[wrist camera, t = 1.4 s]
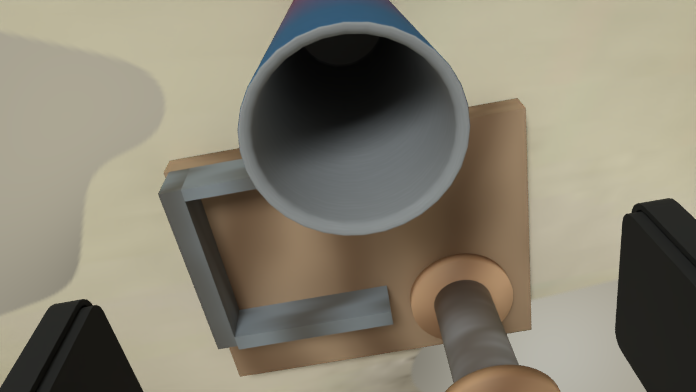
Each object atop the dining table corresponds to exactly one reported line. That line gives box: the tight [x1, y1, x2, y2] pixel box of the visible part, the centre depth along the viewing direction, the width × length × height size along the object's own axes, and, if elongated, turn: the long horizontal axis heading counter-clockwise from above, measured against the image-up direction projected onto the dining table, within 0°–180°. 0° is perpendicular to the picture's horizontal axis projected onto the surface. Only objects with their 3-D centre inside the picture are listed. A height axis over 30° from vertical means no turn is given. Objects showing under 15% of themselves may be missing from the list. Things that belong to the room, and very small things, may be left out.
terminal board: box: [158, 98, 560, 392], centre depth 32 cm, size 20×16×12 cm
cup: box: [238, 0, 470, 236], centre depth 24 cm, size 7×7×15 cm
